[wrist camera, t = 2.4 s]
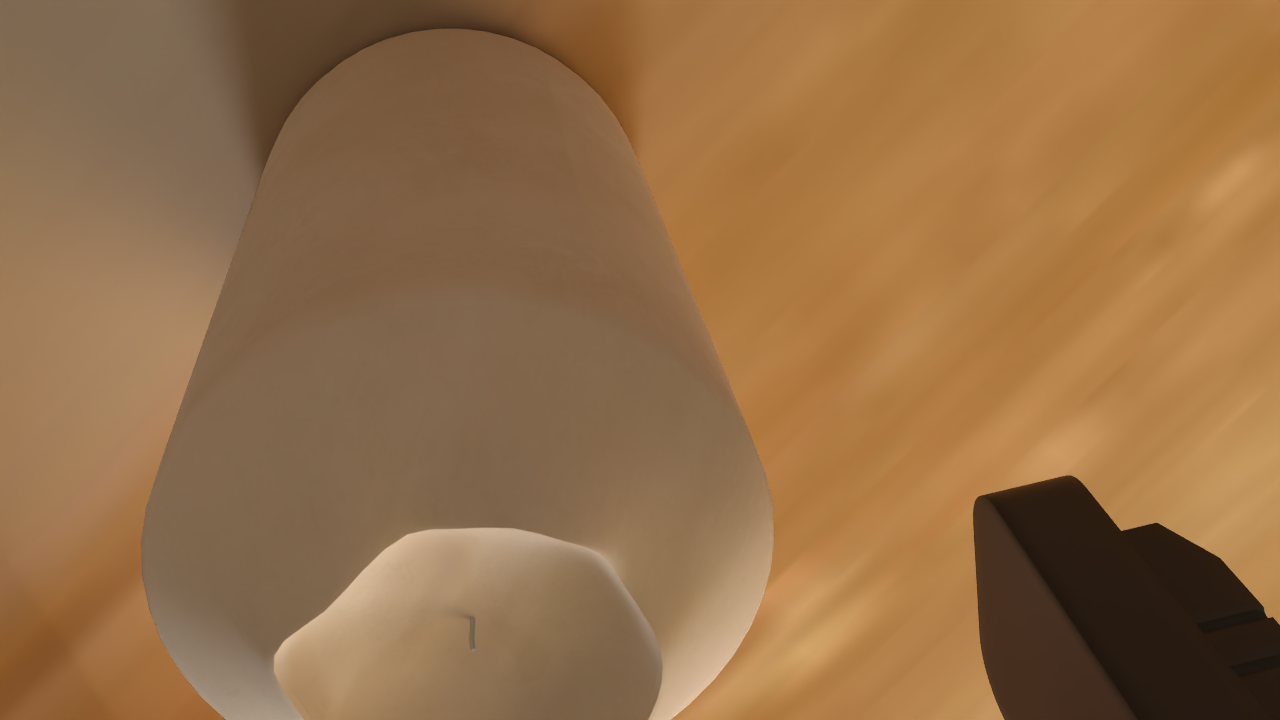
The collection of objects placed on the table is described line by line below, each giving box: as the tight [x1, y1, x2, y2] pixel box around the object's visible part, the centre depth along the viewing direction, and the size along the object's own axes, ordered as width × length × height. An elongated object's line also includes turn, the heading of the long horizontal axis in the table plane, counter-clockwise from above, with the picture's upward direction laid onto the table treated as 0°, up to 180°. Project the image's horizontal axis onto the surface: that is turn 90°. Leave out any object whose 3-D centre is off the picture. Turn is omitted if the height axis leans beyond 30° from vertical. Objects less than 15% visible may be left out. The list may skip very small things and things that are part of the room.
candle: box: [141, 29, 774, 720], centre depth 14 cm, size 6×6×10 cm
